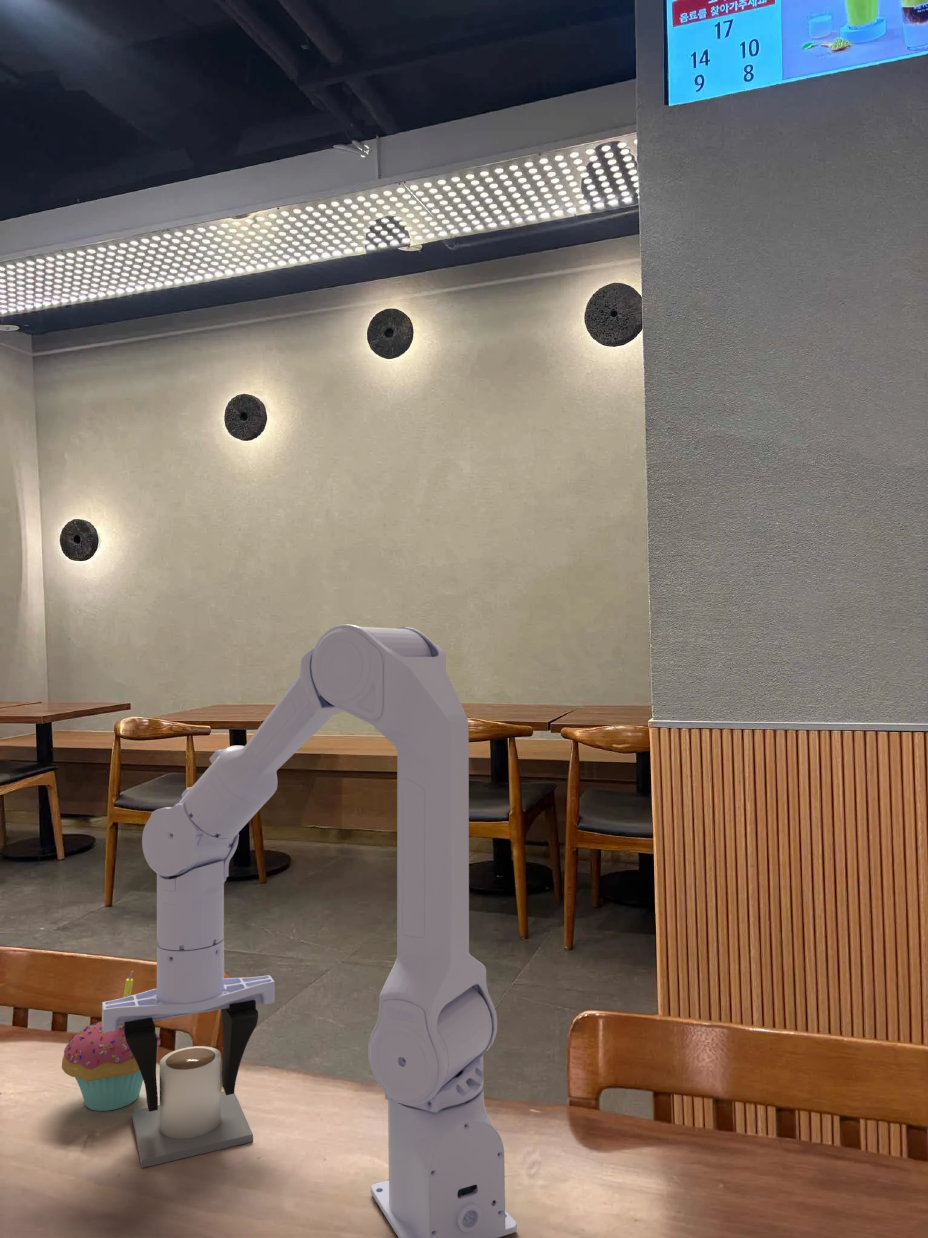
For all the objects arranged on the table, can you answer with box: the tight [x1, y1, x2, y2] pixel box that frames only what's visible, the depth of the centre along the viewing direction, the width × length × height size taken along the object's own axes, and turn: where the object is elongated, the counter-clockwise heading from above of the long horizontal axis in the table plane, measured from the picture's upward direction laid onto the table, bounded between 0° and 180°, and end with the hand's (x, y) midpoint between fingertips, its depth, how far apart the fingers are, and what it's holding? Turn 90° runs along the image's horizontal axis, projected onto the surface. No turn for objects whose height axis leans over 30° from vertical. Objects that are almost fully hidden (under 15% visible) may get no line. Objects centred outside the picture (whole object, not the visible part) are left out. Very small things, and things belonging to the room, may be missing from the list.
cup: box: [159, 1045, 222, 1138], centre depth 79 cm, size 5×5×6 cm
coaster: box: [131, 1091, 254, 1169], centre depth 79 cm, size 9×9×1 cm
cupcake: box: [61, 970, 161, 1112], centre depth 85 cm, size 9×8×12 cm
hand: (190, 1098), depth 79 cm, fingers open, 6 cm apart
